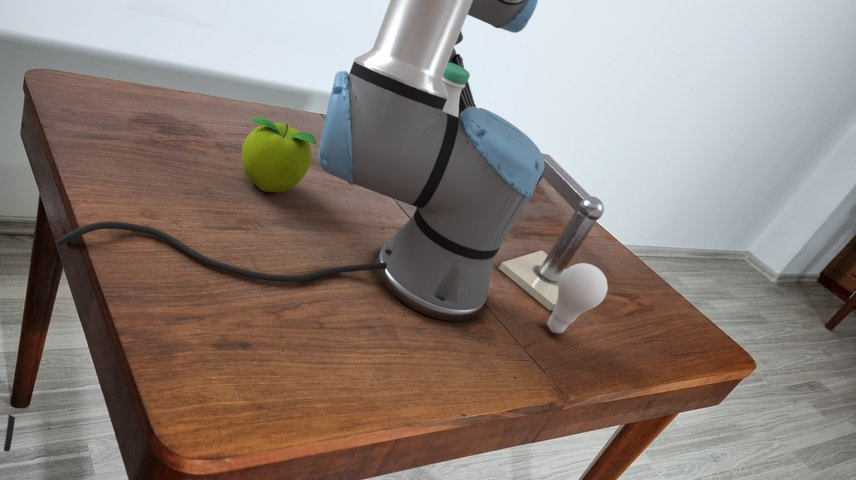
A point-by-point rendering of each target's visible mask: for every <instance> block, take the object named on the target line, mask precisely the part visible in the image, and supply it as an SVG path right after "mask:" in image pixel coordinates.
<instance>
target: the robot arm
mask: <svg viewBox="0 0 856 480" xmlns="http://www.w3.org/2000/svg"><path fill="white" fill-rule="evenodd" d="M538 2H539V0H389V3H388V5H387V9H386V11H385V13H384V17H383V20H382V22H381V25H380V28H379V29H378V33H377V35H376V38H375V40H374V41H375V42H374V44H373V47H372V48H371V49H369V50H368V51H367V52H365V53H363V54H361V55H359V56H357V57H355V58H354V59H353V61H352V65H351V68H350V71H349V73H348V71H346V70H343V71H342V70H341V71H340V70H339V71H337V72H336V73H335V76H334V79H333V84H332V88H331V93H330V96H329V102H328V104H327V105H328V106H327V109H326V114H325V119H324V124H323V128H322V132H321V133H322V134H321V138H320V143H319V147H318V154H317V160H318V164H319V167H320V168H321V169H322V171H324V172H325V173H326V174H328V175H330V176H333V177H336V178H338V179H340V180H343V181H345V182H347V183H348V184H349V185H350V186H353V185H355V186H358V187H361V188H363V189H366V190H369V191H372V192H374V193H377V194H380V195H382V196H385V197H388V198H390V199H394V200H395V201H398V202H402V203H404V204H407V205H409V206H412V207H415V208H416V209H415V211H414V213H413V214H412V216H411V217H410V219H409V220H408V221H407V222H406V223H404V225H403V226H402V227H400V229H398V230H397V232H395V233H394V234H393V235H392V236H391V237H390V238H389V239H388V240H387V241H386V242H385V243H384V244H383V246H382V247H381V250H380V252H379V253H378V255H377V258H376V261H375V262H373V263H364V264H363V263H361V264H352V265H342V266H335V267H329V268H324V269H320V270H316V271H313V272H309V273H304V274H303V273H302V274H292V275H291V274H290V275H288V274H287V275H286V274H274V273H273V274H271V273H264V272H259V271H258V272H257V271H252V270H248V269H244V268H240V267H236V266H233V265H230V264H226V263H224V262H221V261H217V260H215V259H213V258H210V257H208V256H205V255H204V254H201V253H200V252H198V251H196V250H194V249H193V248H191V247H190V246H188V245H187V244H185V243H184V242H182V241H180V240H178V239H177V238H175V237H174V236H172V235H170V234H169V233H166V232H164V231H161V230H160V229H158V228H157V229H156V228H154V227H150V226H147V225H142V224H135V223H129V222H123V221H99V222H93V223H89V224H86V225H83V226H80V227H78V228H76V229H73V230H72V231H70V232H68V233H66V234H64V235H62V236H61V237H59V238H58V239H57V240H55V244H56V245H58V246H63V245H66V244H67V243H69V242H70V241H72V240H74V239H76V238H78V237H80V236H82V235H85V234H88V233H91V232H94V231H99V230H108V229H109V230H110V229H111V230H112V229H113V230H123V231H131V232H136V233H137V232H138V233H143V234H146V235H147V234H148V235H151V236H153V237H156V238H159V239H161V240H163V241H165V242H167V243H169V244H170V245H172V246H174V247H175V248H177V249H179V250H180V251H181V252H183V253H184V254H186V255H188V256H189V257H191V258H193V259H194V260H196V261H198V262H200V263H202V264H205V265H207V266H210V267H212V268H215V269H218V270H220V271H224V272H226V273H230V274H234V275H238V276H241V277H245V278H249V279H255V280H259V281H268V282H280V283H297V282H298V283H299V282H307V281H310V280H315V279H319V278H321V277H326V276H330V275H335V274H341V273H350V272H353V273H354V272H362V271H373V270H375V271H376V274H377V276H378V278H379V280H380V281H381V282H382V284H383V286H384V287H385V288H386V289H387V290H388V291H389V292H390V293H391V294H392V295H393V296H394V297H395V298H396V299H398V300H399V301H400V302H401V303H403V304H405V306H406V305H407V306H408V307H409V308H410V309H413V310H414V311H417V312H419V313H420V314H423V315H425V316H427V317H431V318H434V319H436V320H442V321H447V322H463V321H468V320H472V319H473V318H474V317H477V315H478V314H479V313H480V311H481V309H482V308H483V306H484V305H485V304H486V303H485V302H486V301H487V298H488V292H489V286H490V281H491V275H492V271H493V270H492V269H493V266H494V265H493V264H494V259H495V257H496V256H497V254H498V252H499V250H500V248H501V247H502V245H503V243H504V242H505V240H506V238H507V237H508V235H509V233H510V231H511V230H512V228H513V227H514V225H515V223H516V221H517V219H518V218H519V217H520V215H521V213H522V211H523V209H524V208H525V207H526V205H527V203H528V201H529V199H530V198H532V197H533V195H534V193H535V189H536V187H537V186H538V185H537V182H538V180H539V178H540V176H541V174H542V172H543V170H544V159H543V156H542V154H541V153H542V152H541V150H540V148H539V147H538V145H537V144H536V143H535V142H534V141H533V140H532V139H531V138H530V137H529V136H528V135H527V134H526V133H524V132H523V131H522V130H521V129H520V128H518V127H516V125H514V124H513V123H512V122H510V121H508V120H506V118H503V117H502V116H501V115H498V114H496V113H494V112H492V111H490V110H487V109H485V108H483V107H477V105H476V103H475V100H474V97H473V93H472V90H471V87H470V82H469V80H468V81H467V83H466V84H465V87H464V88H462V90H461V93H460V98H459V115H458V117H456V116H453V115H451V114H448V113H446V112H444V111H443V108H444V106H445V103H446V101H447V98H448V93H447V91H446V88H445V85H444V83H443V79H442V77H443V73H444V71H445V68H446V66H447V63H448V62H450V63H454V64H456V65H459V66H461V67H462V68H464V69H465V65H464V59H463V57H462V56H461V54H460V53H457V51H456V49H455V46H457V45H458V44H460V43H461V42H463V40H464V36H463V32H462V29H463V26H464V24H465V22H466V18H467V16H470V17H472V18H474V19H477V20H478V21H481V22H484V23H486V24H488V25H490V26H492V27H493V28H495V29H501V30H504V31H507V32H510V33H512V34H515V33H519V32H522V31H523V30H524V28H526V27H527V25H528V22H529V21H530V20H531V18H532V16H533V15H534V12H535V10H536V8H537V5H538ZM536 185H537V186H536ZM15 421H16V417H15V416H13V415H11V414H8V419H7V426H6V433H5V439H4V446H3V451H4V452H10V451H11V447H12V442H13V437H14V436H13V435H14V427H15Z"/></svg>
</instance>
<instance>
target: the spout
mask: <svg viewBox="0 0 856 480" xmlns="http://www.w3.org/2000/svg"><path fill="white" fill-rule="evenodd" d="M541 154H542V156H543V159H544V170H543V172H542V174H541V176H540V178H539V180H538V182H537V185H536V187H538V185H539V184H540V182H541V180H542V178H543V179H544V180H545V181H546V182H547V183H548V184H549V185H550V186H551V187H552V188H553V189H554V190H555V192H557V194H558V195H560V196H561V198H562V199H563V200H564V201H565V202H566V203H567V204H568V205H569V206H570V207H571V208H572V209H573V210H574V213H573V214H572V216H571V217H570V219H569V221H568V222H567V224H566V226H565V227H564V229H563V230H562V231H561V234H560V235H559V236H558V237H557V240H556V241H555V243H554V245H553V246H552V247H551V249H550V250H549V252H548V253H547V255H548V256H547V257H546V259H545V260H544V262H543V264H542V265H541V267H540V268H539V272H540V274H541V275H542V276H543V277H545V278H546V279H548V280H551V281H557V280H558V279H559V277H560V276H561V274H562V273H563V271H564V270H565V269H567V268H568V265H569V264H570V262H571V261H572V259H573V258H574V256H575V254H576V253H577V252H578V250H579V248H580V247H581V246H582V244H583V242H584V241H585V239H586V238H587V236H588V235H589V233H590V232H591V230H592V229H593V227H594V226H595V224H597V223H596V222H597V221H598V220H599V219H600V218H601V217H602V216H603V214H604V213H605V212H604V211H605V205H604V203H603V202H602V200H601V199H599V198H598V197H597V196H594V195H593V196H592V195H590V194H589V193H588V192H587V191H586V190H585V189H584V188H583V187H582V186H581V185H580V184H579V183H578V182H577V181H576V180H575V179H574V178H573V177H572V176H571V175H570V173H568V172H567V171H566V170H565V169H564V168H563V167H562V166H561V165H560V164H559V163H558V162H557V161H556V160H555V159H554V158H553V157H552V156H551V155H549V154H548V153H543V152H541Z"/></svg>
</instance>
